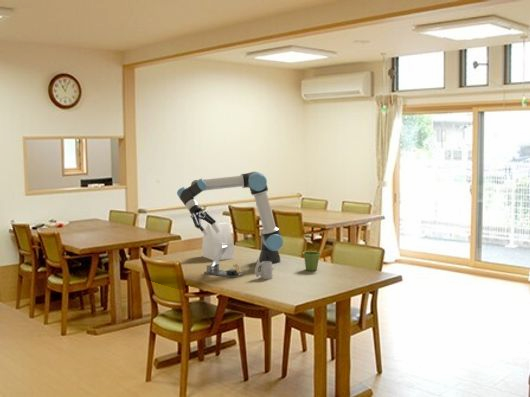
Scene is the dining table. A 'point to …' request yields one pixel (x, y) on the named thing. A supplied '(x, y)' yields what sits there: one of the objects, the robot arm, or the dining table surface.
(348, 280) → the dining table surface
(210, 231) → the white box
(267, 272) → the mug
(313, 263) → the plant pot
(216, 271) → the base
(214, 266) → the white flat bar
